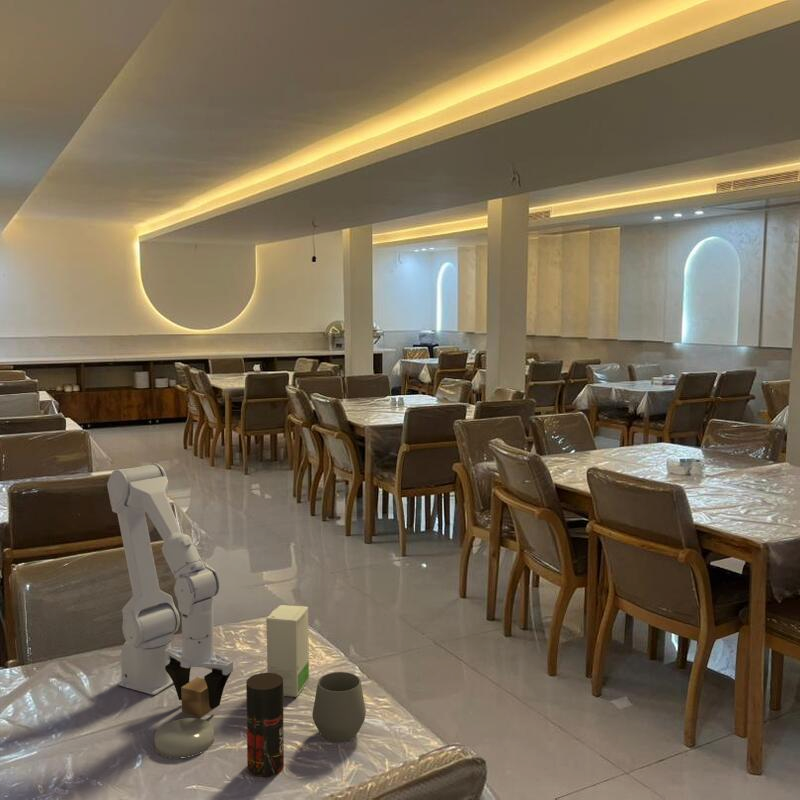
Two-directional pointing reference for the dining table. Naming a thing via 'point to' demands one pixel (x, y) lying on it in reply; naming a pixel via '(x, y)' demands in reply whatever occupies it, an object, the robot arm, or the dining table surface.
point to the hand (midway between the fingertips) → (199, 702)
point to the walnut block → (195, 698)
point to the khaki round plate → (184, 737)
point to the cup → (339, 706)
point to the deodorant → (265, 725)
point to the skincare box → (289, 647)
